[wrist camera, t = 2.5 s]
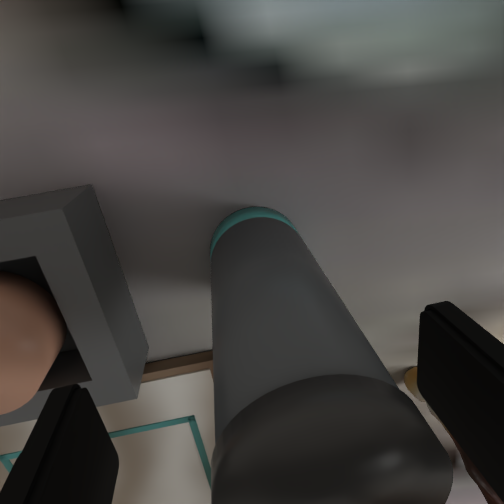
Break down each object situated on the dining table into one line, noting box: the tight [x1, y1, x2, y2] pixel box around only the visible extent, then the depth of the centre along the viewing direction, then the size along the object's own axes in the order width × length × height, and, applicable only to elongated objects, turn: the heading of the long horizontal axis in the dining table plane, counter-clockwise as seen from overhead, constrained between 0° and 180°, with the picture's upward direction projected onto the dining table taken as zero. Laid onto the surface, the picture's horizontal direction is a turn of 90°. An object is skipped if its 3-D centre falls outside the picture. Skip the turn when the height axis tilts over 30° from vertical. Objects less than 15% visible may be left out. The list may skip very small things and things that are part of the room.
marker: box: [210, 207, 453, 504], centre depth 12 cm, size 5×5×12 cm
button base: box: [0, 184, 149, 427], centre depth 15 cm, size 9×9×4 cm
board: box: [0, 350, 215, 504], centre depth 23 cm, size 15×18×1 cm
